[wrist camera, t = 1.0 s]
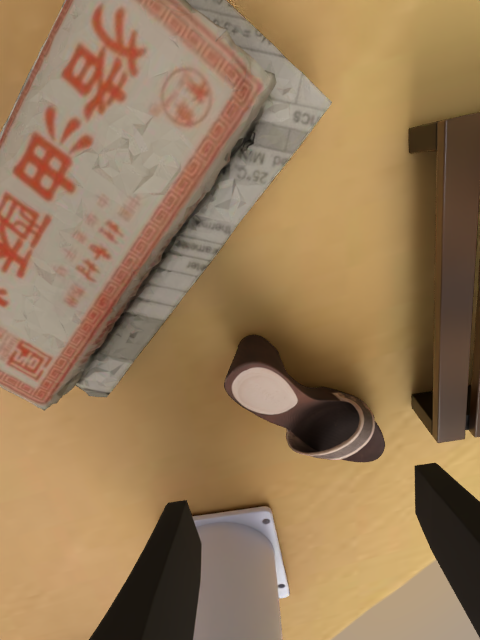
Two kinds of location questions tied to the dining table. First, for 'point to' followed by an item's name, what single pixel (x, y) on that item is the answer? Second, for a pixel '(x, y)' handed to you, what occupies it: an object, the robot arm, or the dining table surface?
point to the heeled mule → (302, 407)
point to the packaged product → (131, 178)
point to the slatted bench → (453, 277)
